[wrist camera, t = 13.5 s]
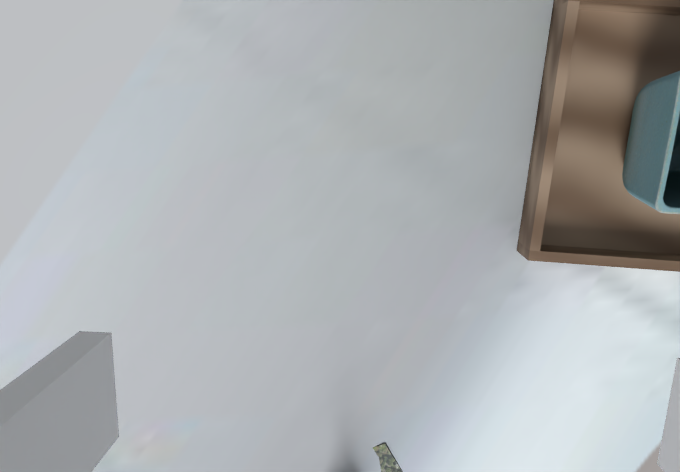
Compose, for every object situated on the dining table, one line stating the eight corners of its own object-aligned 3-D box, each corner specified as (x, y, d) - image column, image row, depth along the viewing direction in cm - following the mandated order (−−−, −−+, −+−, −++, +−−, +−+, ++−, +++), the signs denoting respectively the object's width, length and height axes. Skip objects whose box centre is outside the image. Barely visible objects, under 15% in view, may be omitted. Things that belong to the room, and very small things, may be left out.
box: (554, -2, 38) (570, -12, 35) (822, 14, 37) (860, 5, 35) (516, 250, 42) (528, 260, 40) (755, 268, 42) (785, 279, 39)
